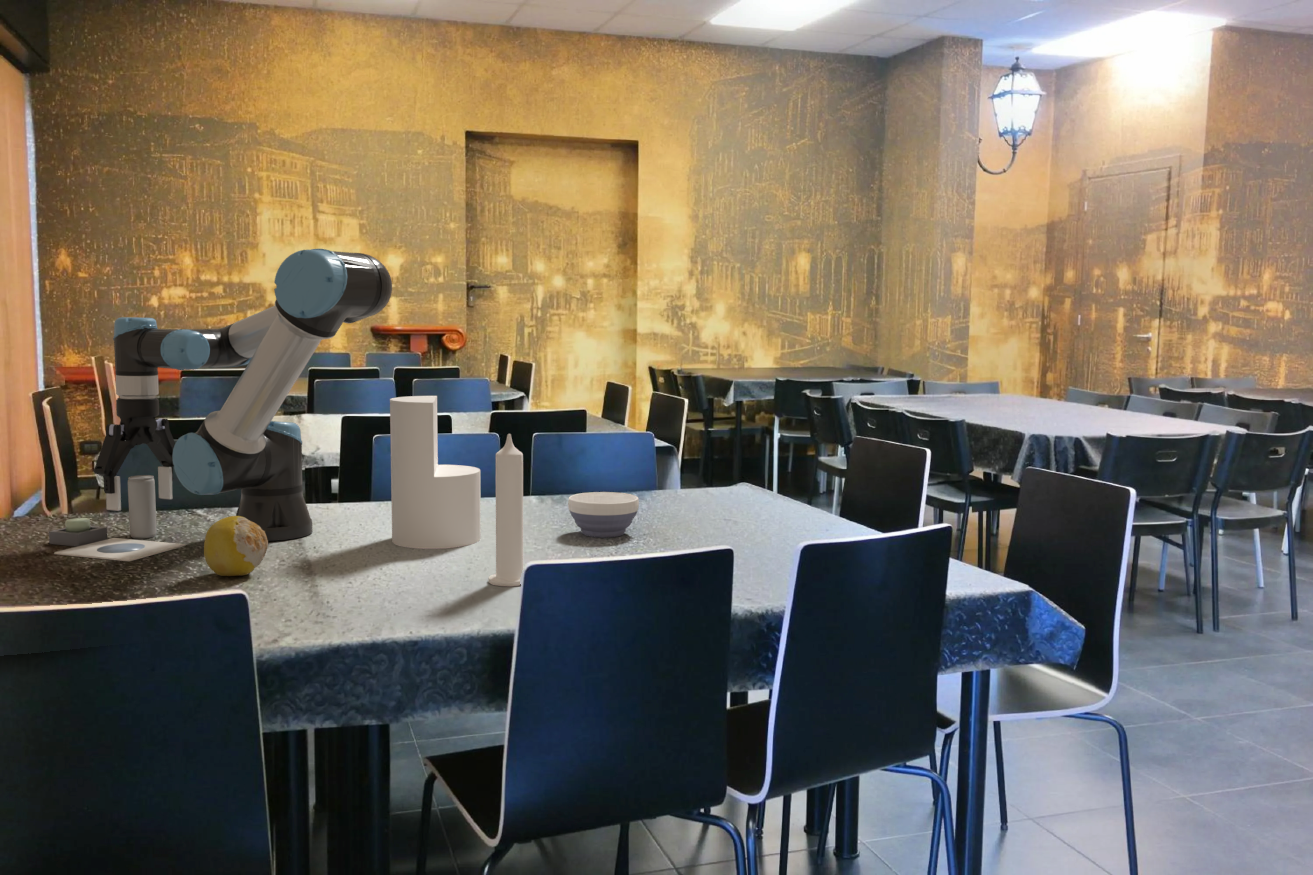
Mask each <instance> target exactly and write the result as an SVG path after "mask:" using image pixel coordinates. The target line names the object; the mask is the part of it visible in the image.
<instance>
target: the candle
mask: <svg viewBox="0 0 1313 875" xmlns="http://www.w3.org/2000/svg"><path fill="white" fill-rule="evenodd" d="M522 570H523V571H524V454H523V452H522V451H520V450H519V449H518V448H517V447H515V445H514V443H513V439H512V434H511V433H508V434H507V435H506V440H505V444H504V446H503V447H502V448H501V449H500V450H499V451H497V452H495V573H493V574H491V575H489V576H488V580H487V582H488V584H490V585H493V586H496V587H519V586H521V585H520V577H521V573H522Z"/></svg>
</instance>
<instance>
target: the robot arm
mask: <svg viewBox="0 0 1313 875" xmlns="http://www.w3.org/2000/svg"><path fill="white" fill-rule="evenodd" d="M392 282H393V281H392V276H391V275H390V273H389V270H388V269H387V268H386V266H385V265H384V264H383V263H382V262H381V261H380V260H379V259H378V258H376V257H374V256H372V255H370V254H365V253H361V252H350V251H349V252H346V251H334V250H330V249H325V248H324V249H323V248H311V249H301V250H298V251H295V252H294V253H292V254H290V255H288V256H287V257H286V258H285V259H284V260H283V261H282V262H281V264H280V265H279V267H278V268H277V271H276V273H275V276H274V284H275V285H276V286H275V288H274V296H275V301H274V305H273V306H270V307H268V308H266V309H263V310H261V311H258V312H256V313H254V314H252V315H250V316H247V317H244V318H242V319H240V320H238V321H235V322H234V323H231V324H229V325H226V326H224V327H221V328H204V329H202V328H199V329H198V328H197V329H196V328H195V329H194V328H192V329H191V328H190V329H189V328H188V329H187V328H185V329H182V328H179V329H175V328H172V329H170V328H164V329H163V328H158V325H157V320H156V319H155V318H153V317H136V316H134V317H131V316H129V317H127V316H125V317H124V316H123V317H118V318H116V319H115V320H114V325H113V326H114V329H113V338H112V339H113V346H114V348H113V349H114V350H113V351H114V368H115V369H114V370H115V372H114V373H115V394H116V395H117V396H119V397H117V399H116V400H115V403H116V404H115V408H116V416H117V417H118V418H119V420H120V421H119V424H114V423H113V424H112V423H108V424H107V425H106V426H105V437H104V439H103V442H102V446H101V448H100V451H99V454H98V458H97V459H96V463H95V465H94V468H93V473H94V474H95V475H98V476H100V477H102V478H103V492H104V494H105V497H106V498H105V500H106V501H105V502H106V505H105V506H106V511H107V510H108V511H121V510H122V502H121V500H122V498H121V497H122V495H121V476H117V474H118V473H119V471H120V469H121V467H122V466H123V464H124V463H125V460H126V458H127V457H128V455H129V453H130V452H131V450H132V449H133V448H135V447H136V446H140V445H142V444H143V445H146V446H147V447H148V448H149V450H150V451H151V452H152V454H153V455H154V456H155V458H156V459H157V460H158V462H159V463H160V466H157V472H158V474H157V476H158V477H157V479H158V481H157V483H158V499H162V500H173V482H174V473H175V475H176V477H177V479H178V480H179V482H180V484H181V485H182V486H183V487H184V488H185V489H186V491H189V492H190V493H192V494H195V495H199V496H204V495H213V496H214V495H218V494H221V493H226V492H231V491H235V490H240V495H241V496H240V501H239V502H238V503H239V504H238V506H237V507H238V508H237V510H236V514H235V516H241V517H245V518H246V519H248V520H250V521H252V522H254V523H256V524H257V525H259V526H260V527H261V529H262V530H263V531H265V534H266V536H267V540H268V542H272V541H273V542H275V541H284V540H285V541H286V540H292V539H299V538H302V537H306V536H309V535H311V534H312V533H313V529H314V528H313V520H312V518H311V515H310V513H309V512H310V511H309V509H308V506H307V504H306V500H305V498H304V495H303V494H304V492H303V446H302V445H303V440H302V435H301V434H302V432H301V431H302V430H301V427H300V425H298V424H297V423H296V422H292V421H291V422H290V421H273V419H274V417H275V416H276V414H277V413H278V411H279V409H280V408H281V406H282V404H283V403H284V401H285V400H286V398H287V396H288V394H289V393H290V391H291V390H292V388H293V386H294V385H295V383H296V382H297V380H298V379H299V377H300V376H301V374H302V372H303V371H304V370H305V367H306V366H307V364H308V363H309V362H310V359H311V358H312V356H313V354H314V353H315V352H316V350H317V348H318V347H319V345H320V343H321V342H322V340H329V339H332V338H334V337H335V336H336V335H337V333H338V331H339V330H340V328H341V327H342V325H343V323H345V324H353V323H356V322H358V321H361V320H364V319H367V318H369V317H373V316H375V315H377V314H378V313H380V312H381V311H383V309H384V308H386V307H387V305H388V304H389V302H390V299H391V296H392V293H393V283H392ZM246 365H247V366H246ZM241 366H246V367H245V369H244V371H243V372H242V373H241V375H240V377H239V379H238V380H237V382H236V384H235V386H234V387H233V389H232V391H231V392H230V393H229V396H228V397H227V399H226V401H225V402H224V404H223V405H222V406H221V408H220V410H215V411H211V412H210V413H208V414H207V415H206V417H205V419H203V422H202V423H201V424H200V426H199V428H198V429H197V431H196V432H188V433H186V434H184V435H183V434H182V436H180V437H178V439H177V440H176V442H175V439H174V437H173V435H172V433H171V432H172V431H171V429H170V422H169V419H168V418H161V417H158V416H159V415H160V403H159V402H160V400H159V399H158V397H156V396H158V395H159V393H160V392H159V390H160V388H159V369H158V368H163V369H170V370H171V369H172V370H177V371H191V370H198V369H201V368H202V369H203V368H215V367H216V368H218V367H219V368H221V367H230V368H231V367H233V368H235V367H241ZM157 417H158V418H157Z"/></svg>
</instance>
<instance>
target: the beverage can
mask: <svg viewBox="0 0 1313 875" xmlns="http://www.w3.org/2000/svg"><path fill="white" fill-rule="evenodd" d="M127 479H128V480H127V496H128V498H127V499H128V517H129V518H128V520H129V535H130V537H132V538H133V539H134V540H144V539H150V538H154V537H155V536H156V535H157V533H158V532H157V531H158V530H157V527H158V526H157V508H156V506H157V505H156V484H155V477H154V475H150V474H139V475H131V476H128V478H127Z"/></svg>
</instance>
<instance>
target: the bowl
mask: <svg viewBox="0 0 1313 875" xmlns="http://www.w3.org/2000/svg"><path fill="white" fill-rule="evenodd" d="M639 502H640V501H639V497H638V496H637V495H635V494H630V493H624V492H613V491H611V492H610V491H600V492H599V491H593V492H582V493H581V492H580V493H576V494H572V495H570V496H569V497H568V502H567V505H568V511H569V514H570V516H571V517H572V519H573V520H574V523H575V524H576V525H577V527H578V528H580V532H581V534H583V535H584V536H586V537H589V538H598V539H599V538H600V539H611V538H618V537H621V536H623V535H625V533H626V530H627V528H629V527H630V525H631V524H632V523H633V520H634V518H635V517H636V515H637V513H638V510H639V509H640V508H639V505H640V503H639Z"/></svg>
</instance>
